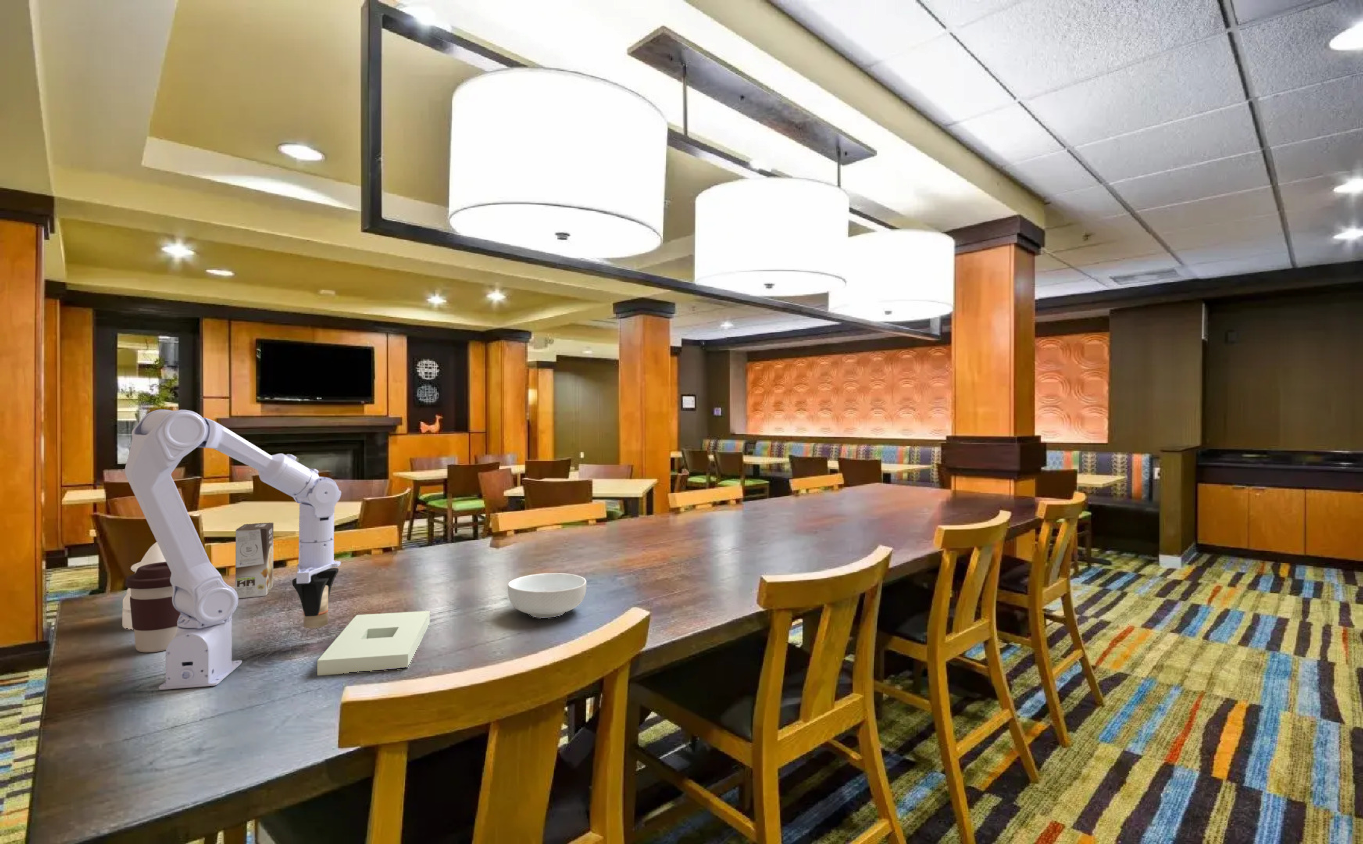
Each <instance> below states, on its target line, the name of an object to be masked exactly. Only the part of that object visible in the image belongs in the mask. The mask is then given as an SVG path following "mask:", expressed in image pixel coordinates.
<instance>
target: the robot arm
mask: <svg viewBox="0 0 1363 844" xmlns="http://www.w3.org/2000/svg"><path fill="white" fill-rule="evenodd" d="M131 438H132V439H131V445H130V448H129V452H128V455H127V459H126V463H125V468H124V475H125V478H126V480H127V482H128V483H129V485H130V489H131V491H132V492H133V494H134V497H135V498H136V501H137V503H138V504H139V507H140V509H141V511H142V514H143V515H144V518H145V520H146V522H147V524H148V526H149V528H150V531H151V532H152V534H153V536H154V539H155V541H156V542H157V543H158V545H159V547H160V550H161V552H162V554H163V556H164V558H165V560H166V562H167V564H168V566H169V569H170V571H171V578H170V582H171V584H172V587H173V595H172V603H173V606H174V608H175V609H176V610H177V611H179V612H181V613H180V616H179V618H178V621H177V633H176V636H175V637H174V638H173V640H172V641H171V642H170V643H169V644H168V646H167V649H166V650H165V682H163V683H162V684H161V685H159V686H158V690H159V691H161V690H173V689H175V690H176V689H186V688H200V687H201V688H202V687H210V686H211V687H213V686H217V685H218V684H219V683H221V682H222V681H223V680H224V679H225V678H227V677H228V676H229V675H230V674H231V673H232V672H234V671H235V670H236V669H237V668H238V667H239V666H240V665H242V664H243V660H241V659H239V660H233V656H232V654H233V652H232V651H233V650H232V649H233V646H232V644H233V643H232V642H233V641H232V640H233V639H232V637H233V631H232V630H233V624H232V623H233V618H232V617H233V614H234V612H235V611H236V609H237V607H238V604H239V598H238V595H237V592H236V591H235V588H234V587H232V586H230V585H229V584H227V583H226V582H225V581H224V579H223V576H222V574H221V573H220V572H219V570H217V569H216V567H215V566H214V565H213V564H212V563H211V560H210V559H209V556H208V555H207V552H206V550H205V548H204V546H203V543H202V542H201V539H200V537H199V534H198V532H197V530H196V528H195V525H194V523H193V521H192V519H191V517H190V514H189V513H188V510H187V508H186V505H185V503H184V501H183V499H182V497H181V495H180V492H179V490H178V488H177V485H176V483H175V480H174V479H173V477H172V473H173V472H174V470H175V469H176V468H177V467H178V466H179V464H180V462H181V461H182V459H183V458H185V457H186V456H187V455H189V454H190V453H191V452H192V451H194V450H195V449H196V448H204V449H214V450H216V451H218V452H220V453H222V454H224V455H226V456H227V457H230V458H232V459H234V460H235V461H238V462H240V463H242V464H244V465H246V466H248V467H250V468H252V469H254V470H257V472H258V477H259V479H260V481H261V482H262V483H264V484H267V485H268V486H271V487H272V488H275V489H276V490H278V491H280V492H282V493H284V494H286V495H288V496H290V497H292V498H293V500H294V501H295V502H296V503H297V504H299V508H298V509H299V511H298V513H299V515H298V521H299V522H298V564H297V567H296V569H297V572H296V577H295V578H293V579H292V580H291V584H292V585H291V586H292V587H293V588H294V589H295V591H296V592H297V594H298V597H299V599H300V602H301V607H302V610H303V611H302V612H304V615H305V616H317V615H318V614H319V611H320V606H321V599H322V594H323V591H324V588H325V585H327V586H328V600H329V599H330V594H331V591H332V587H333V584H334V581H335V579H336V578H337V575H338V573H339V568H338V567H340V566H341V563H342V562H341V561H339V560H338V561H337V560H336V561H335V559H334V558H335V538H334V537H335V508H336V505H337V503H338V502H339V501H340V499H341V496H342V491H341V490H340V488H339V486H338V485H337V482H336V481H335V480H334V479H332V478H331V477H326V476H320V475H319V472H320V471H319V470H318V469H316V468H309V467H307V466H305V465H303V464H302V463H300V462H299V461H297V456H295V455H293V454H290V453H287V454H284V453H276V454H272V455H271V454H269V453H268V452H266V451H265V450H262V449H261V448H260V447H258V446H256V445H255V444H254V443H252V442H249V440H246V439H245V438H244V437H242V436H240V435H238V434H237V433H235V432H233V431H232V430H230V429H229V428H227V427H225V426H223V425H222V424H220V423H219V422H217V421H215V420H212V419H210V418H207V417H202V415H200V414H198V413H197V412H195V411H193V410H187V409H177V410H170V409H156V410H152V411H150V412H148V413H147V414H145V415H144V416H143V417H142V419H141V420H139V422H138V423H137V424H136V425H135V427H134V428H133V429H132V431H131ZM304 615H303V616H304Z"/></svg>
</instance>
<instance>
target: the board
mask: <svg viewBox="0 0 1363 844" xmlns="http://www.w3.org/2000/svg"><path fill="white" fill-rule="evenodd" d="M430 623H431V611H430V610H423V611H422V610H421V611H406V612H404V611H403V612H388V613H386V612H385V613H369V614H368V613H367V614H356V615H355V616H354V617H353V618H352V620H351V621H350V622H349V623H348V624H347V625H346V627H345V628H344V629H343V630H342V631H341V632H340V633H339V634H338V636H337V637H336V638H335V639H334V640H333V642H331V644H330V645H329V646H328V647H327V649H326V650H325V651H324V653H322V654H321V656H320V657H319V658H318V659H317V661H316V663H317V665H316V666H317V669H316V672H317V674H316V675H317V676H329V675H341V674H343V673H344V674H350V673H349V672H357V671H358V672H357V673H360V672H359V671H370V672H373V671H372V670H380V669H386V668H400V667H408V665H409V664H410V665H411V663H412V661H413V659H414V657H415V655H414V654H416V653H415V652H417V651H416V650H418V649H417V648H419V647H418V646H420V644H421V642H422V640H423V637H424V636H425V634H426V632H427V630H428V627H429V626H428V625H430ZM413 656H414V657H413ZM412 658H413V659H412ZM411 660H412V661H411ZM410 662H411V663H410ZM410 665H409V666H410ZM408 668H409V667H408Z"/></svg>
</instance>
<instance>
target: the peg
mask: <svg viewBox="0 0 1363 844" xmlns="http://www.w3.org/2000/svg"><path fill="white" fill-rule="evenodd" d="M302 615H303V616H302V617H303V628H305V629H318V628H319V629H320V628H322V627H326V626H327V625H328V623H329V599H328V586H327V585H325V588H324V591H323V594H322V599H321V606H320V611H319V614H318V615H317V616H305V615H304V611H302Z"/></svg>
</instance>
